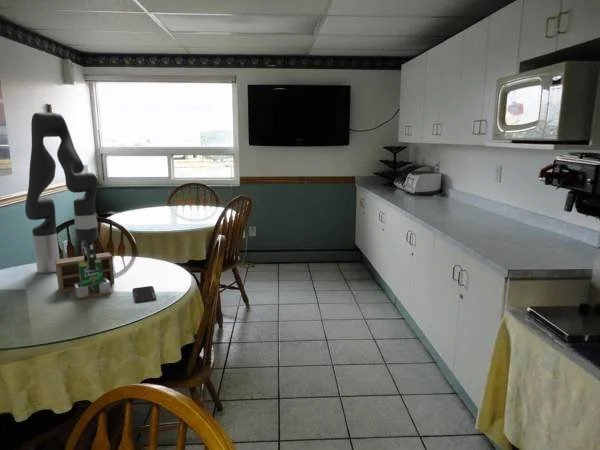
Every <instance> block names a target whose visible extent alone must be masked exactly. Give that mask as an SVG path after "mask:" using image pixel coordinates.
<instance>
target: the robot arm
mask: <svg viewBox="0 0 600 450" xmlns="http://www.w3.org/2000/svg"><path fill="white" fill-rule="evenodd" d="M30 128H31V129H30V130H31V150H30V152H31V153H30V161H29V170H28V171H29V173H28V174H29V175H28V176H29V177H28V188H27V194H26V198H25V199H26V200H25V206H24V209H25V211H24V212H25V216H26V217H27V219H28V220H31V221H39V220H44V221H43V222H42V223H40V224H39V225H37V226H35V227H33V229H32V230H31V233H32V238H33V239H32V240H33V246H34V247H33V249H34V252H35V253H34V255H35V261H36V262H35V263H36V269H37V270H36V271H37V273H38V274H51V273H57V272H56V263H55V260H60V259H61V258H60V252H59V250H60V249H59V242H58V234H57V219H56V205H55V203H54V199H52V198H51V197H42V198H41V196H42V195H41V194H43V192H44V191H45V190H46V189H47V188H48V187H49V186H50V185H51V184H52V182H53V181H54V179H55V175H56V167H57V166H56V165H57V164H56V161H55V159H54V157H53V156H52V155H51V153H50V152H49V151H48V149H47V148H46V146H45V144H44V138H56V137H59V138H60V144H59V146H58V148H57V151H56V157H57V160H58V162H59V165H60V166H61V168H62V170H63V172H64V177H65V178H64V179H65V187H66V188H67V190H68V191H69V192H71V193H74V194H76V193H84V195H83V196H82V197H80V198H77V199H74V201H73V211H74V229H75V239H76V240H78V241H80V243H81V253H82V256H84V261H85V260H88V263H89V270H90V271H92V270H95V269H96V266H95V260H96V259H97V258H96V254H97V252H96V244H95V243H94V241H93V240H95V239H97V238H98V237H99V231H98V219H97V216H96V208H95V204H96V203H95V200H96V195H97V191H98V187H99V180H98V177H97V175H96V174H95V173H93V172H83V171H84V169H85V166H84V163H83V161H82V160H81V158H80V156H79V154H78V153H77V151H76V148H75V146H74V143H73V140H72V136H71V134H70V131H69V128H68V125H67V123H66V120H65V118H64V117H63V116H62V114H60V113H58V112H57V113H56V112H34V114H32V117H31V127H30ZM90 255H93V257H90Z"/></svg>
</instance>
